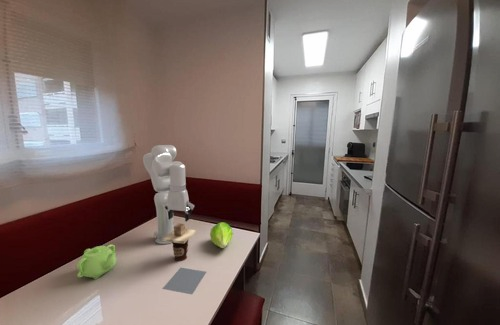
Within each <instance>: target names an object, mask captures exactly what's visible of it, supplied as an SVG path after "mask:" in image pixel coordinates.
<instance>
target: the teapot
mask: <svg viewBox="0 0 500 325" xmlns="http://www.w3.org/2000/svg"><path fill="white" fill-rule="evenodd" d="M115 248H116V246H115V245H114V244H107V246H105V245H99V246H97V245H96V246H94V247H92V248H86V249H85V250H84V251H83V254H82V256H81V259H80V260H79V261H78V262H77V265H76V267H77V269H78V273H77V274H76V275H77V277H78V278H83V277H85V278H93V280H98V279H99V278H101V276H102V275H104V274H106V273H107V272H110V271H112V270H113V269H114V267H115V265H116V263H117V257H116V256H117V253H116V252H115V251H116V249H115Z"/></svg>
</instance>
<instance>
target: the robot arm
mask: <svg viewBox="0 0 500 325" xmlns="http://www.w3.org/2000/svg"><path fill="white" fill-rule="evenodd" d="M176 157H177V148H176V147H175V146H174V145H172V144H158V145H154V146H153V147H152V148H151V151H150V152H148V153H145V154H144V155H143V157H142V161H143V166H144V168H145V170H146V172H148V174H149V176H150V180H151V183H152V187H153V190H154V191H155V192H157V193H155V195H154V197H153V200H154V205H155V210H156V221H157V222H156V226H157V231H156V230H155V231H154V232H153V236H154V237H156V238H155V243H156V244H157V245H168V244H171V243H172V242H167V241H163V238H164V237H165V236H167V235H168V234H169V233H170V232H172V231H173V230H174V226H175V224H174V223H175V221H174V211H178V212H179V211H180V212H184V215H185V216H184V219H185V220H184V222H188V221H190V219H191V213H192V211H193V210H194V208H195V204H193V203H191V201H189V200H190V199H189V194H188V190H187V187H186V186H187V183H186V166H185V164H183V162H182V161H178V160H177V161H174V160H175V158H176Z"/></svg>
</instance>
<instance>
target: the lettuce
mask: <svg viewBox="0 0 500 325" xmlns="http://www.w3.org/2000/svg"><path fill="white" fill-rule="evenodd" d="M232 228H233V227H232V226H230V225H229V224H228V223H226V222H222V221H221V222H218V223H216V225H214V226H213V227H212V228H211V229H210V233H209V236H210V237H209V238H210V241H211V242H212V243H213V244H214V245H215V246H216V247H219V248H221V249H225V248H226V247H227V245H229V244H230V242H231V241H232V240H233V236H234V233H233V230H232Z"/></svg>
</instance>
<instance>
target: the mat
mask: <svg viewBox="0 0 500 325" xmlns="http://www.w3.org/2000/svg"><path fill="white" fill-rule="evenodd" d="M206 274H207V271H203V270H199V269H191V268H185V267H180V268H179V269H178V270H177V271H176V272H175V273H174V274H173V276H172V277H171V278H170V279H169V281H168V282H166V284H165V285H164V286H163V287H162V289H163V290H168V291H172V292H178V293H181V294H182V293H184V294H188V295H193V294H194V293H195V291H196V289H197V288H198V287H199V284H200V283H201V281H202V280H203V278H205V275H206Z"/></svg>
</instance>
